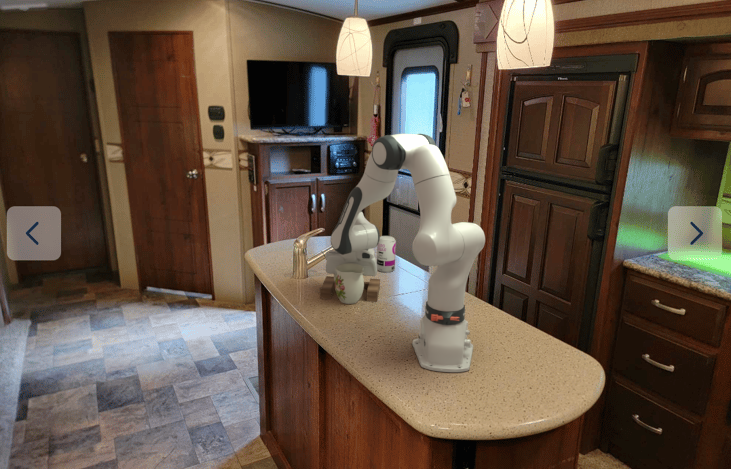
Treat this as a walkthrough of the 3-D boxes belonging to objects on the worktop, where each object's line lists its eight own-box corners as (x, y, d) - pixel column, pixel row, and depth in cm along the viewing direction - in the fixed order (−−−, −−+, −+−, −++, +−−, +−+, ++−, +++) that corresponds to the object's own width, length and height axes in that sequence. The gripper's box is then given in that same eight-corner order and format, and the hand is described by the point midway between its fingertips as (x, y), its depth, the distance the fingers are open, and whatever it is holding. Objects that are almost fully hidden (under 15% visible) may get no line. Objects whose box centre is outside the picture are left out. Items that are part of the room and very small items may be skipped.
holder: (377, 301, 184) (377, 292, 183) (320, 298, 186) (320, 288, 185) (379, 288, 198) (380, 279, 197) (326, 285, 200) (326, 276, 199)
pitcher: (345, 288, 196) (346, 256, 192) (373, 304, 182) (374, 270, 178) (322, 294, 189) (322, 261, 185) (349, 311, 176) (350, 276, 172)
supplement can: (396, 267, 223) (397, 236, 219) (392, 273, 215) (394, 241, 211) (378, 266, 225) (379, 234, 221) (375, 271, 217) (375, 239, 213)
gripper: (323, 252, 185) (323, 285, 189) (377, 255, 183) (375, 289, 187) (326, 247, 191) (326, 280, 195) (378, 250, 189) (377, 283, 193)
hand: (351, 284), depth 191 cm, fingers closed
